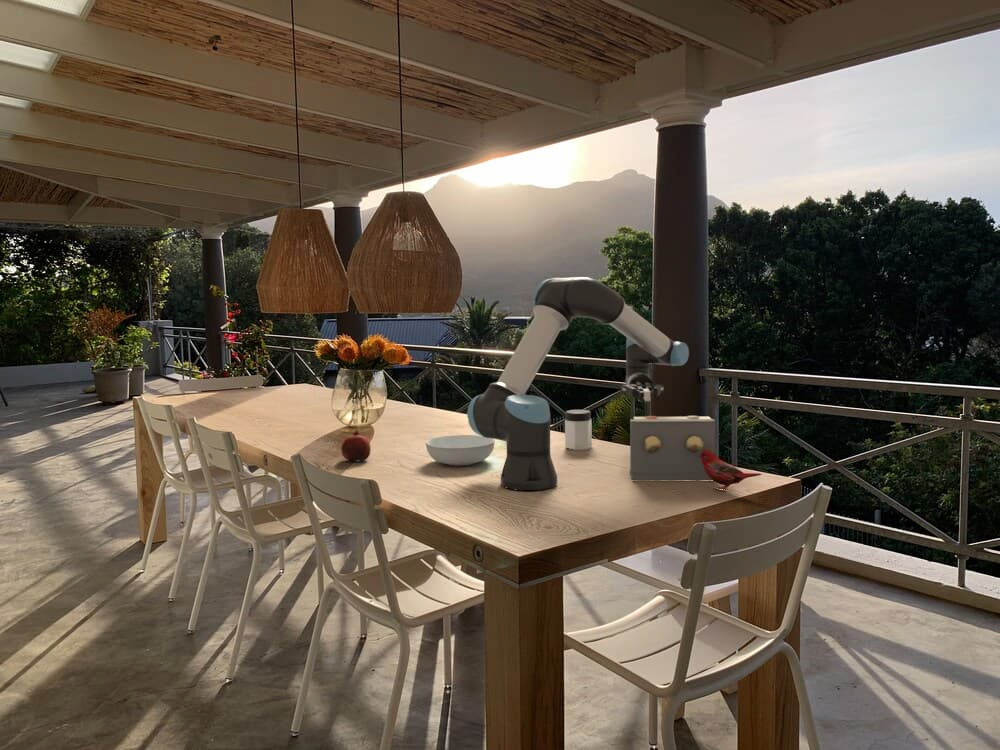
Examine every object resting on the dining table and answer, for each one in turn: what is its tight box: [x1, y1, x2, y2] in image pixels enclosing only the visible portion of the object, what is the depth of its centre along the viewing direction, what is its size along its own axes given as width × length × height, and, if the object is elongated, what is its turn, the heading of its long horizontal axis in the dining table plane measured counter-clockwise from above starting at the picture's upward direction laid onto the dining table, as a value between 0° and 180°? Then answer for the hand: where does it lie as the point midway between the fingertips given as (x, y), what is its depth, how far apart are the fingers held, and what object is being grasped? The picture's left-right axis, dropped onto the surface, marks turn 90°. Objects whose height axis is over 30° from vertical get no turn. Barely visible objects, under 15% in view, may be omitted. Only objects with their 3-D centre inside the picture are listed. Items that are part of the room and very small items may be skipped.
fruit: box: [340, 428, 371, 462], centre depth 225 cm, size 9×10×10 cm
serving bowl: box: [425, 434, 496, 466], centre depth 220 cm, size 21×21×7 cm
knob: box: [685, 435, 703, 453], centre depth 196 cm, size 9×4×4 cm, turn 174°
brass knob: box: [644, 435, 661, 453], centre depth 197 cm, size 9×4×4 cm, turn 174°
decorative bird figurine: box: [698, 449, 762, 491], centre depth 182 cm, size 3×18×10 cm, turn 42°
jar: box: [564, 409, 593, 451], centre depth 237 cm, size 9×8×12 cm
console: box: [629, 415, 716, 480], centre depth 196 cm, size 6×22×17 cm, turn 84°
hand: (647, 396), depth 209 cm, fingers closed
